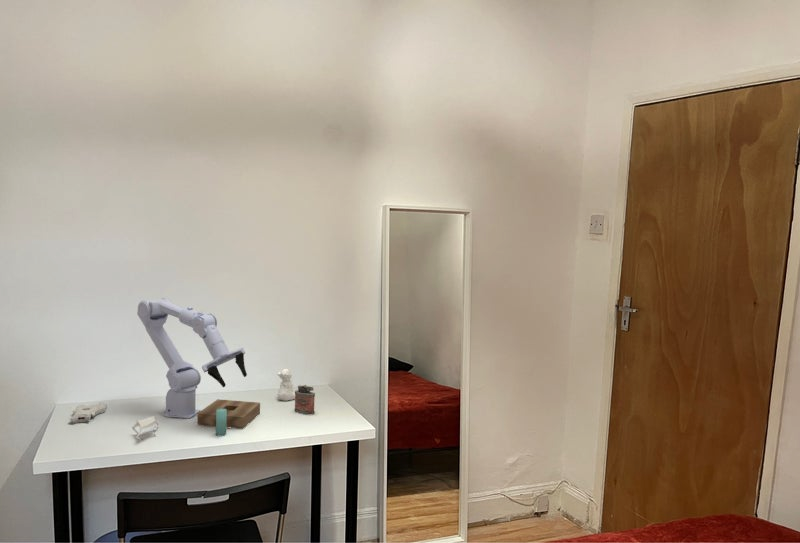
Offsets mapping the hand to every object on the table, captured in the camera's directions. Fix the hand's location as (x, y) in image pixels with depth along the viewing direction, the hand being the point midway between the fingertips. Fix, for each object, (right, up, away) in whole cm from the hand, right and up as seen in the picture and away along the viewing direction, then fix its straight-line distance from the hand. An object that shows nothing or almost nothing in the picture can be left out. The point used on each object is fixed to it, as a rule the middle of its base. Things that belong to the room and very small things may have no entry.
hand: (235, 381), depth 198 cm
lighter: (+20, -15, +20) cm, 32 cm away
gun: (-53, -14, +8) cm, 55 cm away
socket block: (-5, -15, +10) cm, 18 cm away
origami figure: (-26, -16, -10) cm, 32 cm away
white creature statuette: (+11, -13, +35) cm, 39 cm away
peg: (-3, -16, -5) cm, 17 cm away
